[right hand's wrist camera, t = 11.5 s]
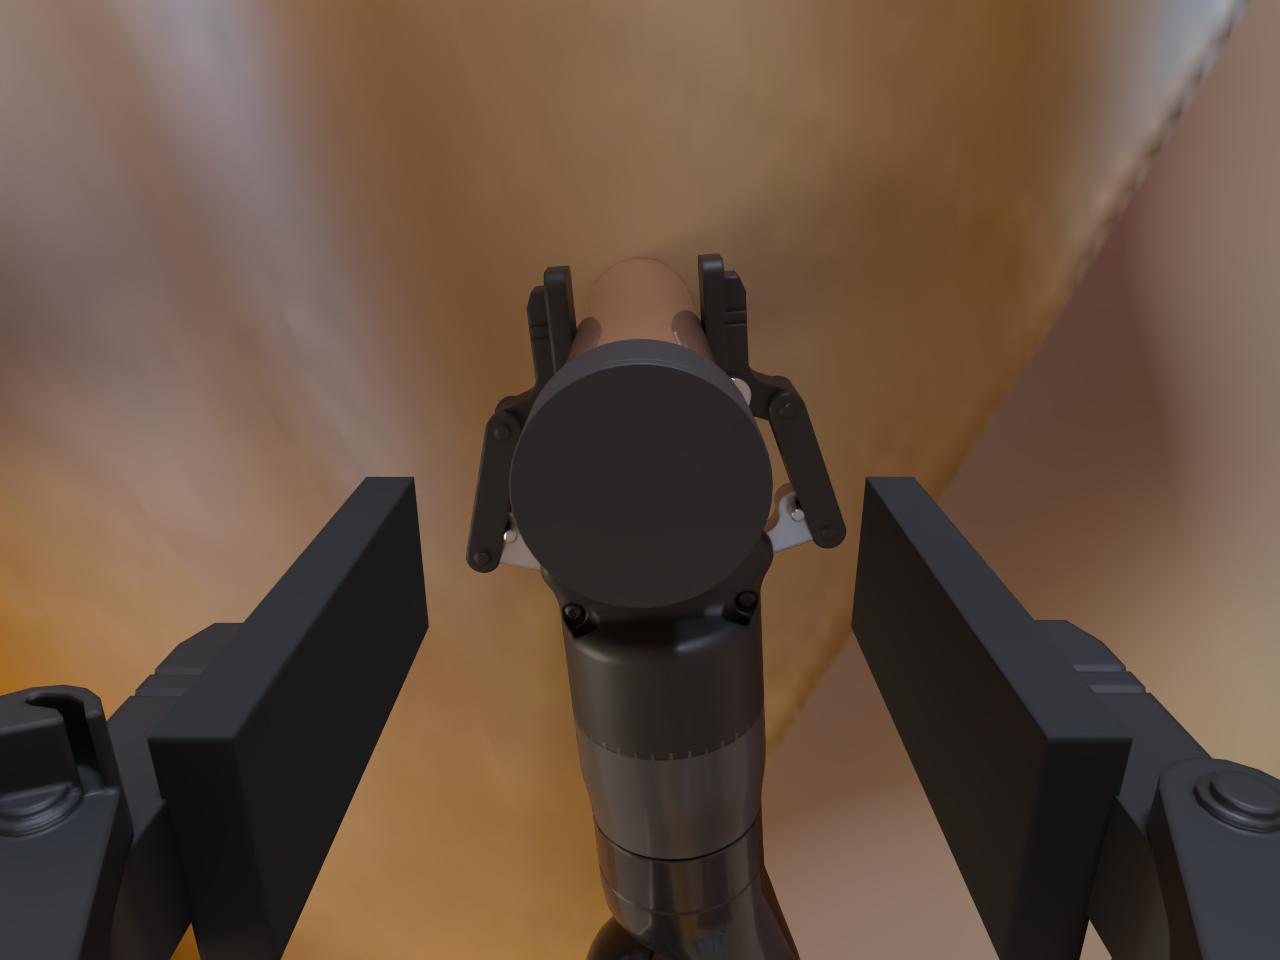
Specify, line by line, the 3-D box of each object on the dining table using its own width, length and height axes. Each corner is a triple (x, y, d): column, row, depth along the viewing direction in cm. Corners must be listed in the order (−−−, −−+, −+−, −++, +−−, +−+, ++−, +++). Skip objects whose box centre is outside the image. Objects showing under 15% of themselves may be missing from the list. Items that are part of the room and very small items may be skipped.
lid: (608, 598, 20) (604, 650, 18) (476, 421, 18) (455, 455, 16) (800, 487, 19) (820, 528, 17) (677, 290, 18) (683, 308, 15)
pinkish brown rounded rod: (624, 385, 36) (609, 619, 18) (565, 297, 35) (485, 453, 17) (713, 329, 35) (792, 514, 17) (656, 236, 34) (675, 331, 16)
